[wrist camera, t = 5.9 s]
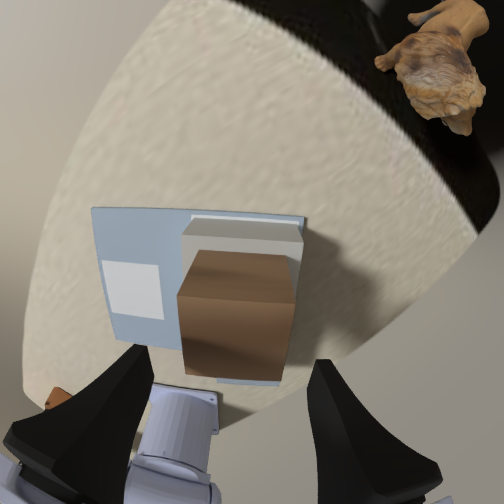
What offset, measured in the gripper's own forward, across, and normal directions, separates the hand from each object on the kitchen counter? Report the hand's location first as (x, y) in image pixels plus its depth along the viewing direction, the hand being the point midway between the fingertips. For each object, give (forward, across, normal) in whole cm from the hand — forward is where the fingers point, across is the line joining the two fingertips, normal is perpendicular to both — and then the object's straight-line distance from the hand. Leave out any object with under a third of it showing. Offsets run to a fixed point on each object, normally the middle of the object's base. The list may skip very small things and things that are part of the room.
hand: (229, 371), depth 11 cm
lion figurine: (+11, -12, -18) cm, 24 cm away
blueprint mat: (+10, +4, +2) cm, 11 cm away
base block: (+10, 0, 0) cm, 10 cm away
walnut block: (+7, 0, 0) cm, 7 cm away
